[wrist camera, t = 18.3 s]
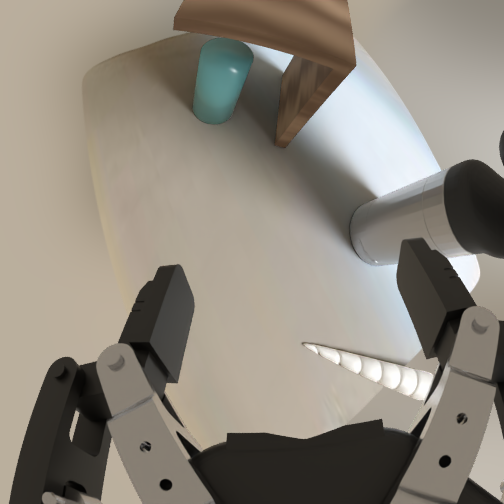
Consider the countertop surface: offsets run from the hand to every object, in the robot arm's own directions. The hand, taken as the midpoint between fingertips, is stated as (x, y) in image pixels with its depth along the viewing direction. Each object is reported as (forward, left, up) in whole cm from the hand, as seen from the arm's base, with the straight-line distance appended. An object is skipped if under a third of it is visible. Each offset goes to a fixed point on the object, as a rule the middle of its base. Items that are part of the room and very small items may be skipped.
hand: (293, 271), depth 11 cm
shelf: (-19, -17, -25) cm, 35 cm away
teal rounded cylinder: (-15, -17, -25) cm, 34 cm away
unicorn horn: (-8, +25, -25) cm, 37 cm away
